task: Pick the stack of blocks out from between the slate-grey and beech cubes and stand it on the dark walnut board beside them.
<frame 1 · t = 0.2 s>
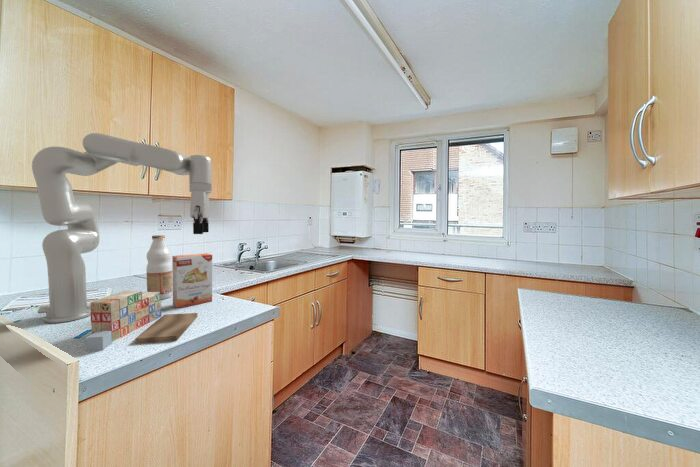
hand: (201, 233, 109), 31 cm above the countertop, tool pointing down, fingers open, 9 cm apart
walnut board: (170, 328, 94), on the countertop
fruit juice: (160, 297, 127), on the countertop
stack of blocks: (130, 328, 94), on the countertop
cracker box: (193, 303, 120), on the countertop
slate cube: (99, 347, 80), on the countertop
beech cube: (145, 312, 108), on the countertop
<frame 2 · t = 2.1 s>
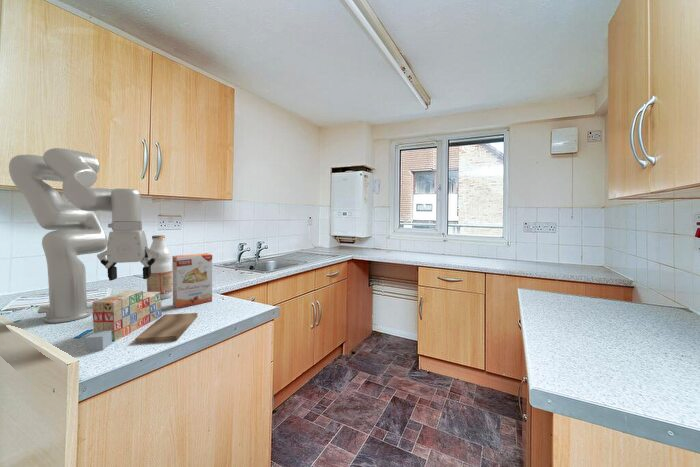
hand: (130, 278, 93), 16 cm above the countertop, tool pointing down, fingers open, 9 cm apart
nothing on the countertop moved.
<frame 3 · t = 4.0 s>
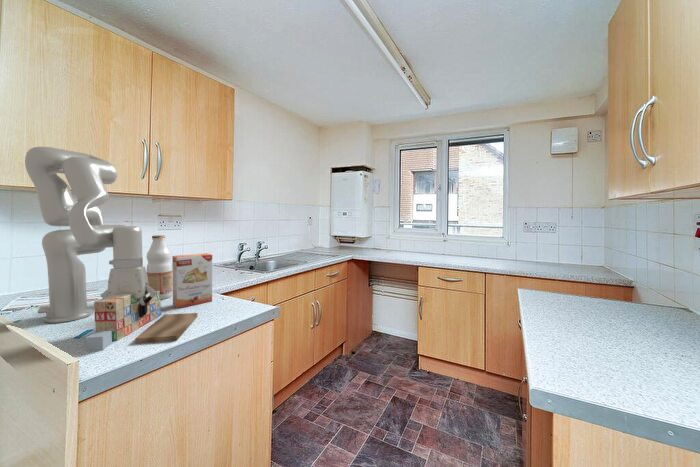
hand: (130, 316, 94), 4 cm above the countertop, tool pointing down, fingers closed on stack of blocks, 6 cm apart
stack of blocks: (132, 327, 95), on the countertop, touching gripper
everything else where it was.
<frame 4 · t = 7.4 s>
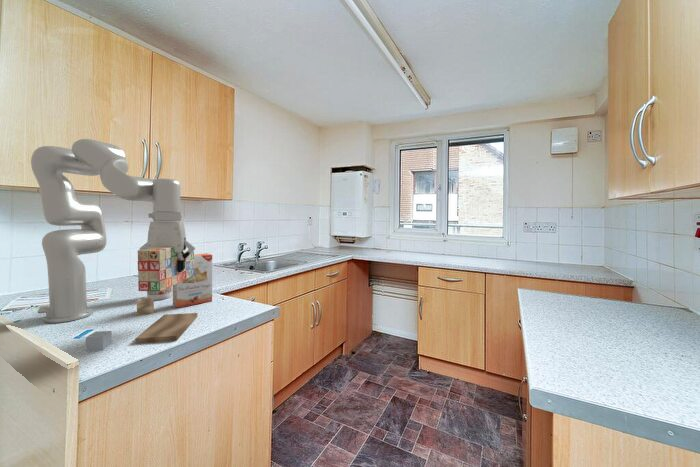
hand: (168, 271, 93), 19 cm above the countertop, tool pointing down, fingers closed on stack of blocks, 6 cm apart
stack of blocks: (169, 283, 94), point 15 cm above the countertop, touching gripper
everything else where it was.
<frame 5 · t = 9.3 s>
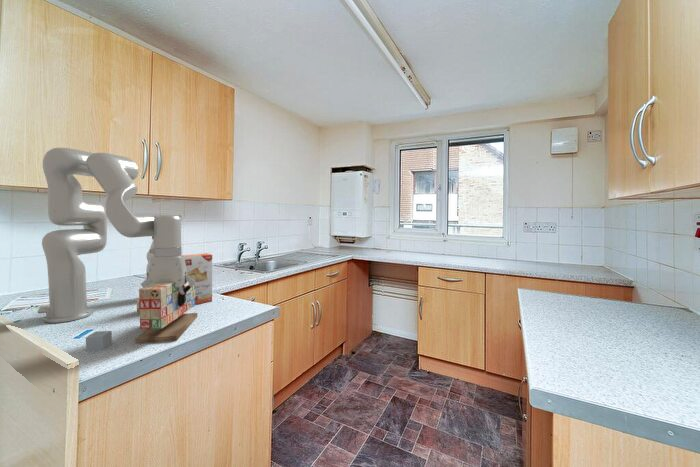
hand: (169, 305, 93), 8 cm above the countertop, tool pointing down, fingers closed on stack of blocks, 6 cm apart
stack of blocks: (170, 316, 94), point 4 cm above the countertop, touching gripper
everything else where it was.
when the fingers open (6 cm above the countertop, at t = 10.7 s): stack of blocks stays where it is, resting on walnut board.
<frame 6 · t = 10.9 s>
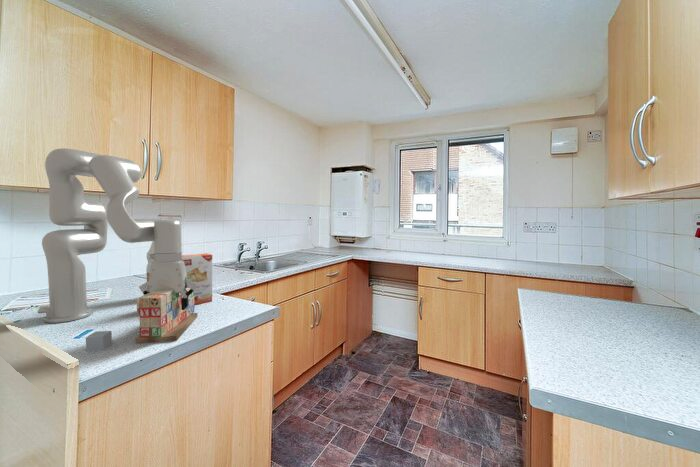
hand: (169, 309, 93), 7 cm above the countertop, tool pointing down, fingers open, 8 cm apart
stack of blocks: (170, 324, 94), point 1 cm above the countertop, touching walnut board
everything else where it was.
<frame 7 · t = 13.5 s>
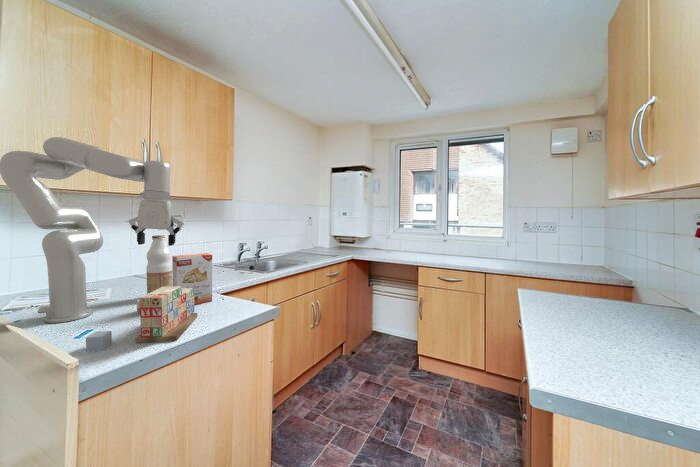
hand: (156, 244, 101), 27 cm above the countertop, tool pointing down, fingers open, 9 cm apart
nothing on the countertop moved.
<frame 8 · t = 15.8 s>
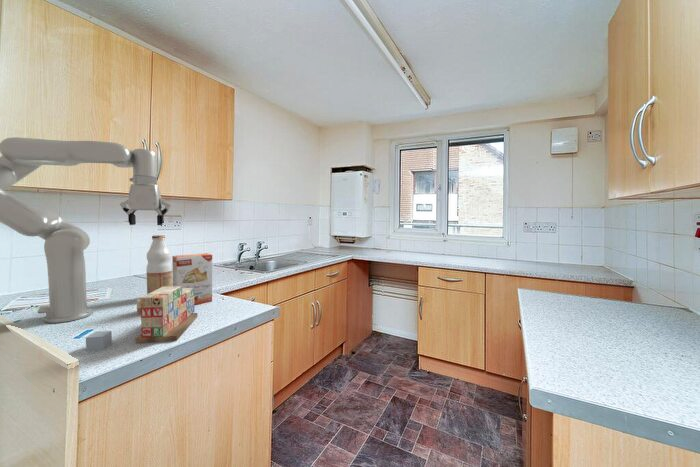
hand: (146, 224, 112), 33 cm above the countertop, tool pointing down, fingers open, 9 cm apart
nothing on the countertop moved.
at the end: stack of blocks inside the target area on the walnut board (0.7 cm from its centre), point 1.3 cm above the walnut board's base; stack of blocks tilted 0°; the gripper is holding nothing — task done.
